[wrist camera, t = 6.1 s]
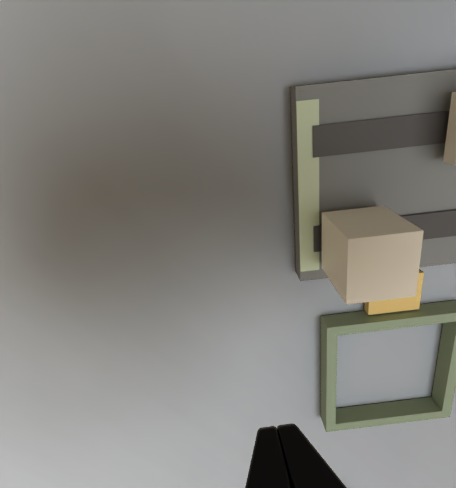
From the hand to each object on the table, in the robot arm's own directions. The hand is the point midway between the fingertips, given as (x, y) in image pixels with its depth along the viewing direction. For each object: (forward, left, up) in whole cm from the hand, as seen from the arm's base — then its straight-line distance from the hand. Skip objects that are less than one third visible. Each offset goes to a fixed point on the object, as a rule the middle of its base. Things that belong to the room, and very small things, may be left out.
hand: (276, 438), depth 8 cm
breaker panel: (-9, -2, -12) cm, 15 cm away
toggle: (-6, 0, -11) cm, 12 cm away
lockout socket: (-9, +8, -12) cm, 17 cm away
